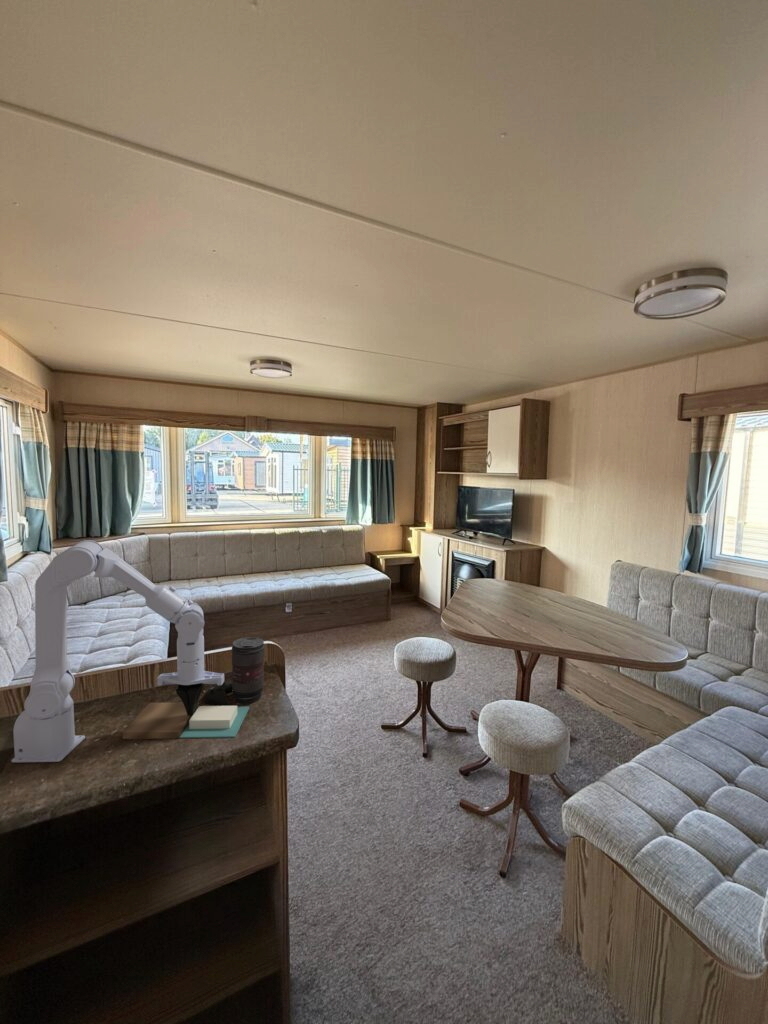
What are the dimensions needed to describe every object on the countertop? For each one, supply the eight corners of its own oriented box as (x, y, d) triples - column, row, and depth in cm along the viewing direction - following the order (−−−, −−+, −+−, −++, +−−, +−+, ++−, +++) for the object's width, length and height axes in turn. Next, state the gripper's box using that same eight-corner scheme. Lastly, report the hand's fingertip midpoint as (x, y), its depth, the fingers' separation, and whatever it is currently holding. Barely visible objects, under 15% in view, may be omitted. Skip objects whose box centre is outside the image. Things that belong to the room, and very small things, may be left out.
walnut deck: (122, 738, 92) (122, 732, 92) (150, 708, 104) (149, 702, 104) (178, 738, 92) (178, 731, 92) (199, 708, 104) (199, 702, 104)
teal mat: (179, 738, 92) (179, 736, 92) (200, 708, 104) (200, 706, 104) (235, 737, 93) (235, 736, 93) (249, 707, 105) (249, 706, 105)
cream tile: (189, 728, 95) (189, 720, 95) (199, 713, 101) (199, 705, 101) (229, 728, 96) (229, 720, 96) (237, 713, 102) (237, 705, 102)
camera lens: (264, 703, 107) (264, 647, 106) (230, 707, 105) (229, 649, 104) (264, 688, 115) (264, 635, 113) (233, 691, 113) (233, 637, 111)
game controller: (228, 705, 105) (211, 688, 104) (213, 719, 105) (196, 702, 105) (242, 685, 114) (226, 670, 114) (228, 698, 115) (212, 683, 114)
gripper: (228, 650, 101) (228, 703, 103) (166, 650, 101) (167, 704, 102) (218, 663, 94) (219, 720, 96) (152, 663, 94) (153, 721, 95)
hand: (191, 713), depth 98 cm, fingers closed
